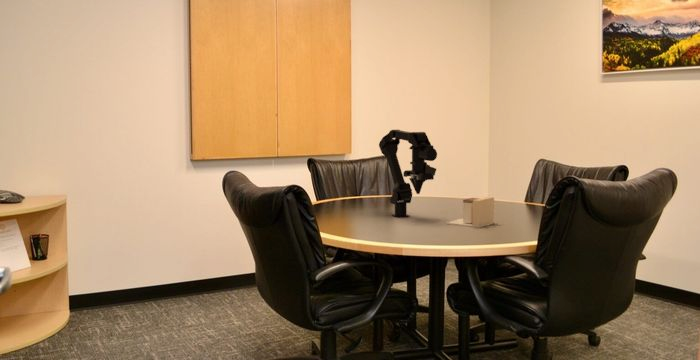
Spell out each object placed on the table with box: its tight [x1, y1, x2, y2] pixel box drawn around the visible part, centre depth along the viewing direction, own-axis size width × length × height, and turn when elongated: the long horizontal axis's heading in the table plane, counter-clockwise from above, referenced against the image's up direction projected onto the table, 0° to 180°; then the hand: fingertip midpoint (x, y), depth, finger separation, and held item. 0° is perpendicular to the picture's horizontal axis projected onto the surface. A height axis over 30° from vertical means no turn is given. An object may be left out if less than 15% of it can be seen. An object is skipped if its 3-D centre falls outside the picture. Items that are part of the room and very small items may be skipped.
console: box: [445, 196, 495, 229], centre depth 278 cm, size 16×14×12 cm
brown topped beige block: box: [462, 197, 480, 223], centre depth 277 cm, size 4×8×10 cm, turn 141°
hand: (418, 193), depth 288 cm, fingers closed
